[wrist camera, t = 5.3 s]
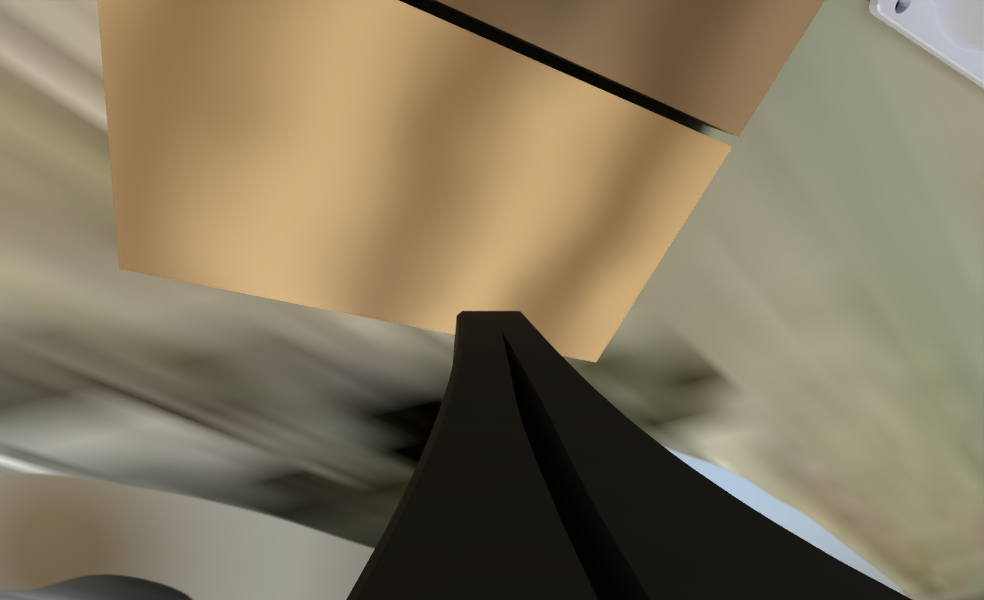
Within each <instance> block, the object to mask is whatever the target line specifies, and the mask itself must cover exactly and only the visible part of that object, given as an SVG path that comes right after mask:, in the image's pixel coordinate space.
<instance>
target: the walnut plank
mask: <svg viewBox="0 0 984 600" xmlns="http://www.w3.org/2000/svg"><path fill="white" fill-rule="evenodd" d="M429 1H431V2H433V3H436V4H438V5H440V6H442V7H445V8H447V9H449V10H451V11H453V12H456V13H458V14H460V15H462V16H465V17H467V18H469V19H471V20H473V21H476V22H478V23H480V24H482V25H485V26H487V27H489V28H491V29H493V30H496V31H498V32H500V33H502V34H505V35H507V36H509V37H511V38H513V39H516V40H518V41H520V42H522V43H525V44H527V45H529V46H531V47H533V48H536V49H538V50H540V51H542V52H545V53H547V54H549V55H551V56H553V57H556V58H558V59H560V60H562V61H565V62H567V63H569V64H571V65H573V66H576V67H578V68H580V69H582V70H585V71H587V72H589V73H591V74H593V75H596V76H598V77H600V78H602V79H605V80H607V81H609V82H611V83H613V84H616V85H618V86H620V87H622V88H625V89H627V90H629V91H631V92H634V93H636V94H638V95H640V96H642V97H645V98H647V99H649V100H651V101H654V102H656V103H658V104H660V105H662V106H665V107H667V108H669V109H671V110H674V111H676V112H678V113H680V114H682V115H685V116H687V117H689V118H691V119H694V120H696V121H698V122H700V123H702V124H705V125H707V126H710V127H713V128H716V129H718V130H721V131H724V132H727V133H729V134H732V135H735V136H738V137H739V135H740V134H741V132H742V131H743V129H744V127H745V126H746V124H747V123H748V121H749V120H750V118H751V116H752V115H753V113H754V112H755V110H756V108H757V107H758V105H759V104H760V102H761V100H762V99H763V97H764V96H765V94H766V92H767V91H768V89H769V88H770V86H771V85H772V83H773V81H774V80H775V78H776V77H777V75H778V73H779V72H780V70H781V69H782V67H783V65H784V64H785V62H786V61H787V59H788V57H789V56H790V54H791V53H792V51H793V49H794V48H795V46H796V45H797V43H798V42H799V40H800V38H801V37H802V35H803V34H804V32H805V30H806V29H807V27H808V26H809V24H810V22H811V21H812V19H813V18H814V16H815V14H816V13H817V11H818V10H819V8H820V7H821V5H822V3H823V2H824V0H429Z"/></svg>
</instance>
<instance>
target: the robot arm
mask: <svg viewBox="0 0 984 600" xmlns="http://www.w3.org/2000/svg"><path fill="white" fill-rule="evenodd" d="M897 2H898V0H870V4H869V8H870V12H871V13H872V15H874V16H875V17H877V18H878V19H880V20H881V21H883V22H884V23H886V24H887V25H889V26H890V27H892V28H893V29H895V30H896V31H898V32H899V33H901V34H902V35H904V36H905V37H907V38H908V39H910V40H911V41H913V42H914V43H916V44H917V45H919V46H920V47H922V48H923V49H925V50H926V51H928V52H929V53H931V54H932V55H934V56H935V57H937V58H938V59H940V60H941V61H943V62H944V63H946V64H947V65H949V66H950V67H952V68H953V69H955V70H956V71H958V72H959V73H961V74H962V75H964V76H965V77H967V78H968V79H970V80H971V81H973V82H974V83H976V84H977V85H979V86H980V87H982V88H983V89H984V0H900V1H899V4H898V6H897V8H896V9H895V6H896V4H897ZM347 600H912V599H910V598H908V597H906V596H904V595H902V594H900V593H899V592H897V591H895V590H893V589H891V588H889V587H887V586H886V585H884V584H882V583H880V582H878V581H876V580H874V579H872V578H871V577H868V576H867V575H865V574H863V573H861V572H859V571H858V570H856V569H854V568H852V567H850V566H848V565H846V564H845V563H843V562H841V561H839V560H837V559H836V558H834V557H832V556H830V555H828V554H827V553H825V552H824V551H822V550H820V549H819V548H816V547H815V546H813V545H812V544H810V543H808V542H807V541H805V540H803V539H802V538H800V537H798V536H797V535H795V534H793V533H791V532H790V531H788V530H787V529H785V528H783V527H782V526H780V525H778V524H776V523H775V522H773V521H772V520H770V519H768V518H767V517H765V516H764V515H762V514H761V513H759V512H757V511H756V510H754V509H752V508H751V507H749V506H748V505H746V504H745V503H743V502H742V501H740V500H738V499H737V498H735V497H734V496H732V495H731V494H729V493H728V492H727V491H725V490H723V489H722V488H721V487H719V486H718V485H716V484H715V483H713V482H712V481H710V480H709V479H707V478H706V477H705V476H703V475H702V474H700V473H699V472H697V471H696V470H694V469H693V468H691V467H690V466H689V465H687V464H686V463H684V462H683V461H682V460H680V459H679V458H678V457H676V456H675V455H674V454H672V453H671V452H670V451H668V450H667V449H666V448H665V447H663V446H662V445H661V444H659V443H658V442H657V441H656V440H654V439H653V438H652V437H650V436H649V435H648V434H647V433H645V432H644V431H643V430H641V429H640V428H639V427H638V426H636V425H635V424H634V423H633V422H632V421H630V420H629V419H628V418H627V417H626V416H625V415H623V414H622V413H621V412H620V411H619V410H618V409H617V408H615V407H614V406H613V405H612V404H611V403H610V402H609V401H608V400H607V399H605V398H604V397H603V396H602V395H601V394H600V393H599V392H598V391H597V390H595V389H594V388H593V387H592V386H591V385H590V384H589V383H588V382H587V381H586V380H585V379H584V378H583V377H582V376H581V375H580V374H579V373H578V372H577V371H576V370H575V369H574V368H573V367H572V366H571V365H570V364H569V363H568V362H567V361H566V360H565V359H564V358H563V357H562V356H561V355H560V354H559V353H558V352H557V351H556V350H555V348H554V347H553V346H552V345H551V344H550V343H549V342H548V341H547V340H546V339H545V338H544V337H543V335H542V334H541V333H540V332H539V331H538V330H537V329H536V328H535V327H534V326H533V325H532V323H531V322H530V321H529V320H528V319H527V318H526V317H525V316H524V315H523V314H522V313H521V312H520V311H462V312H460V313H459V314H458V315H457V317H456V330H455V343H454V357H453V367H452V371H451V375H450V379H449V383H448V386H447V389H446V392H445V395H444V398H443V401H442V404H441V407H440V410H439V413H438V416H437V419H436V421H435V424H434V427H433V429H432V432H431V434H430V437H429V439H428V442H427V444H426V446H425V449H424V451H423V453H422V456H421V458H420V460H419V463H418V465H417V467H416V469H415V471H414V474H413V476H412V478H411V480H410V482H409V484H408V486H407V488H406V490H405V492H404V494H403V496H402V499H401V501H400V503H399V505H398V507H397V509H396V511H395V513H394V515H393V517H392V519H391V520H390V522H389V524H388V526H387V528H386V530H385V532H384V534H383V535H382V537H381V539H380V541H379V543H378V544H377V546H376V548H375V550H374V552H373V554H372V555H371V557H370V559H369V561H368V562H367V564H366V566H365V568H364V569H363V571H362V573H361V575H360V577H359V578H358V580H357V582H356V584H355V586H354V587H353V589H352V591H351V593H350V594H349V596H348V598H347Z"/></svg>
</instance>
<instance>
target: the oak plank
mask: <svg viewBox="0 0 984 600" xmlns="http://www.w3.org/2000/svg"><path fill="white" fill-rule="evenodd" d="M97 1H98V13H99V26H100V38H101V50H102V62H103V75H104V87H105V99H106V111H107V124H108V136H109V148H110V160H111V173H112V185H113V197H114V209H115V222H116V234H117V246H118V258H119V269H122V270H127V271H132V272H138V273H143V274H148V275H153V276H158V277H163V278H168V279H173V280H178V281H183V282H189V283H194V284H199V285H204V286H209V287H214V288H219V289H224V290H229V291H234V292H240V293H245V294H250V295H255V296H260V297H265V298H270V299H275V300H280V301H285V302H291V303H296V304H301V305H306V306H311V307H316V308H321V309H326V310H331V311H337V312H342V313H347V314H352V315H357V316H362V317H367V318H372V319H377V320H382V321H388V322H393V323H398V324H403V325H408V326H413V327H418V328H423V329H428V330H433V331H439V332H444V333H449V334H454V335H455V330H456V317H457V315H458V314H459V313H460V312H462V311H520V312H521V313H522V314H523V315H524V316H525V317H526V318H527V319H528V320H529V321H530V322H531V323H532V325H533V326H534V327H535V328H536V329H537V330H538V331H539V332H540V333H541V334H542V335H543V337H544V338H545V339H546V340H547V341H548V342H549V343H550V344H551V345H552V346H553V347H554V348H555V350H556V351H557V352H558V353H559V354H560V355H561V356H566V357H571V358H576V359H581V360H587V361H592V362H597V360H598V358H599V357H600V355H601V354H602V352H603V350H604V349H605V347H606V346H607V344H608V343H609V341H610V339H611V338H612V336H613V335H614V333H615V331H616V330H617V328H618V327H619V325H620V324H621V322H622V320H623V319H624V317H625V316H626V314H627V313H628V311H629V309H630V308H631V306H632V305H633V303H634V301H635V300H636V298H637V297H638V295H639V294H640V292H641V290H642V289H643V287H644V286H645V284H646V283H647V281H648V279H649V278H650V276H651V275H652V273H653V271H654V270H655V268H656V267H657V265H658V264H659V262H660V260H661V259H662V257H663V256H664V254H665V252H666V251H667V249H668V248H669V246H670V245H671V243H672V241H673V240H674V238H675V237H676V235H677V234H678V232H679V230H680V229H681V227H682V226H683V224H684V222H685V221H686V219H687V218H688V216H689V215H690V213H691V211H692V210H693V208H694V207H695V205H696V203H697V202H698V200H699V199H700V197H701V196H702V194H703V192H704V191H705V189H706V188H707V186H708V185H709V183H710V181H711V180H712V178H713V177H714V175H715V173H716V172H717V170H718V169H719V167H720V166H721V164H722V162H723V161H724V159H725V158H726V156H727V154H728V153H729V151H730V150H731V148H732V147H731V146H729V145H727V144H724V143H722V142H720V141H717V140H715V139H713V138H711V137H708V136H706V135H704V134H702V133H699V132H697V131H695V130H692V129H690V128H688V127H686V126H683V125H681V124H679V123H677V122H674V121H672V120H670V119H667V118H665V117H663V116H661V115H658V114H656V113H654V112H651V111H649V110H647V109H645V108H642V107H640V106H638V105H636V104H633V103H631V102H629V101H626V100H624V99H622V98H620V97H617V96H615V95H613V94H611V93H608V92H606V91H604V90H601V89H599V88H597V87H595V86H592V85H590V84H588V83H586V82H583V81H581V80H579V79H576V78H574V77H572V76H570V75H567V74H565V73H563V72H561V71H558V70H556V69H554V68H551V67H549V66H547V65H545V64H542V63H540V62H538V61H535V60H533V59H531V58H529V57H526V56H524V55H522V54H520V53H517V52H515V51H513V50H510V49H508V48H506V47H504V46H501V45H499V44H497V43H495V42H492V41H490V40H488V39H485V38H483V37H481V36H479V35H476V34H474V33H472V32H470V31H467V30H465V29H463V28H460V27H458V26H456V25H454V24H451V23H449V22H447V21H445V20H442V19H440V18H438V17H435V16H433V15H431V14H429V13H426V12H424V11H422V10H419V9H417V8H415V7H413V6H410V5H408V4H406V3H404V2H401V1H399V0H97Z"/></svg>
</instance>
